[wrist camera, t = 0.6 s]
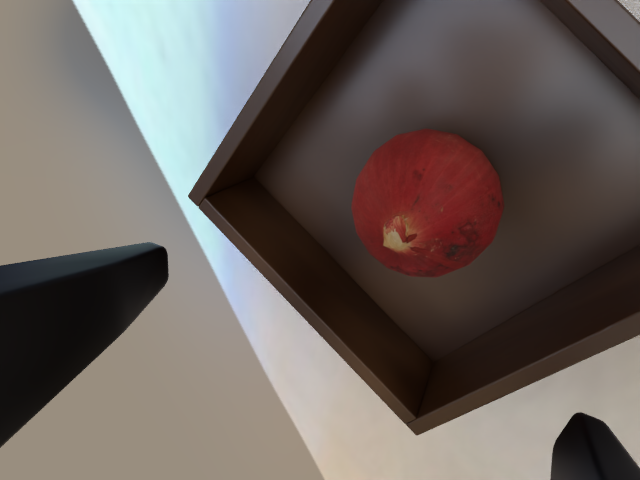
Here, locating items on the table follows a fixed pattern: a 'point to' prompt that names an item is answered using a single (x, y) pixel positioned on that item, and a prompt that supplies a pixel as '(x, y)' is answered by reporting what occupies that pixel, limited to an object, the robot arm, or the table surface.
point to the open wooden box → (502, 152)
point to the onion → (427, 203)
